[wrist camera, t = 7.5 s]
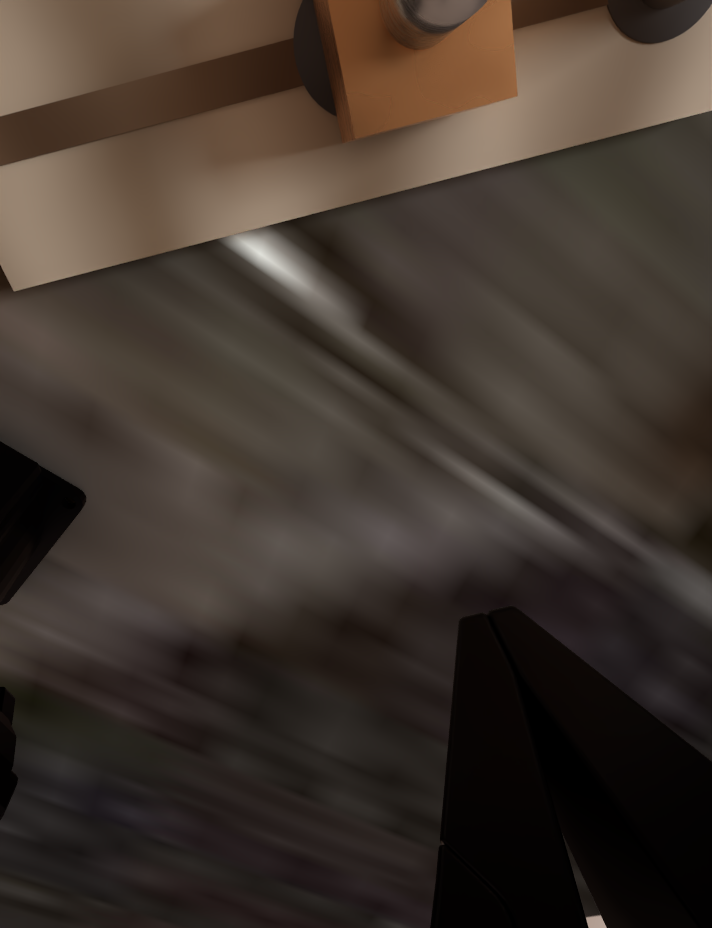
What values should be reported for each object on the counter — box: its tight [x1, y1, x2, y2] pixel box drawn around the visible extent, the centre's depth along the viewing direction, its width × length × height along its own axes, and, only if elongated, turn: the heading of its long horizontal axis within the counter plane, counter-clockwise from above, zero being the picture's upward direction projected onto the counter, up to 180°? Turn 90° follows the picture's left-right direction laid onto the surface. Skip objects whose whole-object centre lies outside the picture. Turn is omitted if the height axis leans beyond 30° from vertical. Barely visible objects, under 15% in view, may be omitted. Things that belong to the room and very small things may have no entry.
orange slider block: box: [313, 0, 518, 143], centre depth 11 cm, size 4×4×6 cm
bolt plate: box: [0, 0, 712, 291], centre depth 12 cm, size 21×7×8 cm, turn 103°
